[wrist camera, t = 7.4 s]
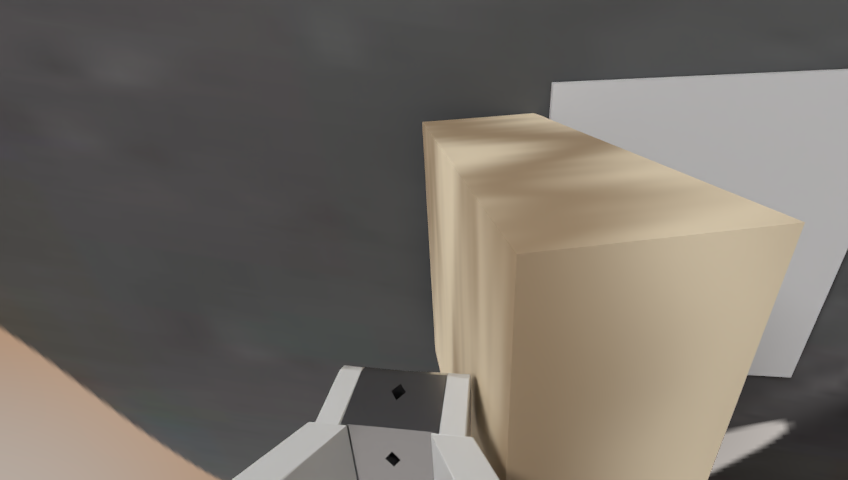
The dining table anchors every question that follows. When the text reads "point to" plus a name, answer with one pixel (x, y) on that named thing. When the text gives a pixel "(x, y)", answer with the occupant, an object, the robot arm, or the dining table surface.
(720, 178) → the mat
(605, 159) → the birch slab
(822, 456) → the dining table surface
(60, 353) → the dining table surface
